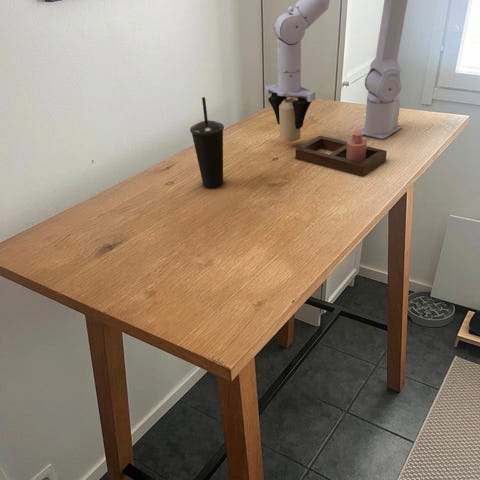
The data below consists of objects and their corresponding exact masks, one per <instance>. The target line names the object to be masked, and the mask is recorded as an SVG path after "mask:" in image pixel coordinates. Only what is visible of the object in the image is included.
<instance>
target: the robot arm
mask: <svg viewBox="0 0 480 480" xmlns="http://www.w3.org/2000/svg"><path fill="white" fill-rule="evenodd" d="M330 3H331V0H298V1H297V2H296V3H295V4H294V5H293V6H292V5H290V6H289V7H288V8H287V11H288V12H285V13H282V14H280V15H279V16H278V18H277V19H276V22H275V24H274V26H273V32H274V35H275V36H276V37H277V51H276V53H277V84H273V83H269V84H267V85H265V86H264V87H265V94H266V95H270V94H271V95H270V96H269V97H268V99H267V100H268V103H269V104H270V106H271V107H272V110H273V112H274V115H275V118H276V123H277V125H279V126H280V121H279V105H280V104H281V103H282V102H283V100H284V99H287V98H293V99H296V101H294V102H292V105H293V108H294V112H295V126H296V129H299V128H300V129H301V128H303V126H304V122H305V118H306V115H307V112H308V109H309V107H310V106H311V104H312V102H314V101H316V91H314V90H313V91H312V90H311V89H307V88H305V87H302V40H303V38H304V36H305V33H306V30H308V28H309V27H311V26H312V25H313V24H314V23H315V22H316V21H317V20H318V19H320V17H322V16H323V14H325V12H327V10H328V9H329V7H330ZM407 5H408V0H384V1H383V6H382V13H381V19H380V25H379V32H378V40H377V46H376V53H375V57H374V59H373V60H372V62H370V65H369V66H370V67H369V70H368V72H367V74H366V76H365V78H364V87H365V89H366V90H367V96H366V107H365V121H364V128H362V129H361V130H358V132H362V133H363V136H366V137H372V138H377V139H381V140H384V139H386V138H388V137H389V136H391V135H392V134H393V133H395V132H397V131H399V130H400V129H401V126H399V125H398V123H399V116H400V110H401V109H400V107H401V103H400V100H399V98H398V96H399V94H400V93H401V90H402V82H401V68H400V64H399V61H398V56H399V53H400V52H399V51H400V45H401V41H402V40H401V38H402V34H403V28H404V24H405V18H406V13H407V12H406V11H407V7H408V6H407ZM287 100H288V99H287Z"/></svg>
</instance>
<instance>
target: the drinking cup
mask: <svg viewBox="0 0 480 480" xmlns="http://www.w3.org/2000/svg"><path fill="white" fill-rule="evenodd" d="M201 101H202V110H203V119H204V120H201V121H199V122H197V123H195V124H193V125H191V126H190V128H189V132H190V134H191V136H192V140H193V145H194V149H195V154H196V158H197V162H198V163H197V164H198V167H199V172H200V177H201V181H202V186H203V187H204V188H206V189H210V190H211V189H212V190H213V189H218V188H220V187H222V186H223V185H224V129H225V125H224V123H222V122H220V121H215V120H210V119H209V118H208V111H207V103H206V97H205V96H204V97H203V96H202V97H201ZM208 119H209V120H208Z"/></svg>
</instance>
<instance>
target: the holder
mask: <svg viewBox="0 0 480 480" xmlns="http://www.w3.org/2000/svg"><path fill="white" fill-rule="evenodd" d="M346 148H347V141H346V140H341V139H337V138H332V137H328V136H325V135H324V136H323V135H318V136H316V137H314V138H313V139H311V140H309V141H307V142H305V143H304V144H302V145H300V146H299V147H297V148H295V160H298V161H303V162H307V163H310V164H314V165H318V166H322V167H325V168H329V169H332V170H336V171H340V172H344V173H348V174H351V175H355V176H360V177H364V176H366V175H368V174H369V173H370V172H371V171H374V170H375V169H376V168H377V167H379V166H380V165H383V163H385V162H386V161H387V154H388V153H387V152H388V151H387V150H384V149H381V148H376V147H373V146H368V145H367V151H366V160H364V161H363V162H358V161H354V160H350V159H346ZM320 149H323V150H327V151H331V153H325V152H321V151H318V150H320Z"/></svg>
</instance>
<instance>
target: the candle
mask: <svg viewBox="0 0 480 480" xmlns="http://www.w3.org/2000/svg"><path fill="white" fill-rule="evenodd" d="M296 100H297V98H292V97H289V98H288V99H284V100H283V102H282V103H281V104H280V105H279V121H280V125H279V140H280V141H282V142H285V143H286V142H287V143H293V142H297V141H299V140H301V128H299V129H296V126H295V112H294V108H293V105H292V102H294V101H296Z"/></svg>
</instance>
